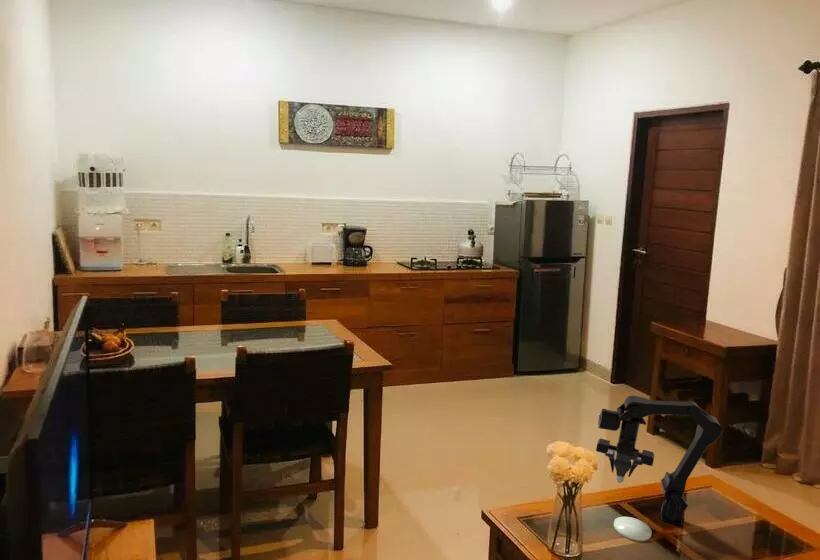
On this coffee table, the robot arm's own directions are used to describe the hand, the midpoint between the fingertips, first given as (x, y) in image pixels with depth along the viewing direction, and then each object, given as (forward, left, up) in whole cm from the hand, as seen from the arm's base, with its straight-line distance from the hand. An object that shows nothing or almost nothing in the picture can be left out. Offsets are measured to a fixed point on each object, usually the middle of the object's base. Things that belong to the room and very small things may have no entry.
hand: (620, 474), depth 228 cm
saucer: (-7, +11, -13) cm, 18 cm away
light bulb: (0, 0, -3) cm, 3 cm away
